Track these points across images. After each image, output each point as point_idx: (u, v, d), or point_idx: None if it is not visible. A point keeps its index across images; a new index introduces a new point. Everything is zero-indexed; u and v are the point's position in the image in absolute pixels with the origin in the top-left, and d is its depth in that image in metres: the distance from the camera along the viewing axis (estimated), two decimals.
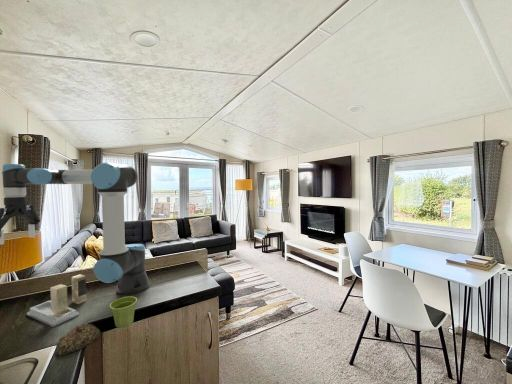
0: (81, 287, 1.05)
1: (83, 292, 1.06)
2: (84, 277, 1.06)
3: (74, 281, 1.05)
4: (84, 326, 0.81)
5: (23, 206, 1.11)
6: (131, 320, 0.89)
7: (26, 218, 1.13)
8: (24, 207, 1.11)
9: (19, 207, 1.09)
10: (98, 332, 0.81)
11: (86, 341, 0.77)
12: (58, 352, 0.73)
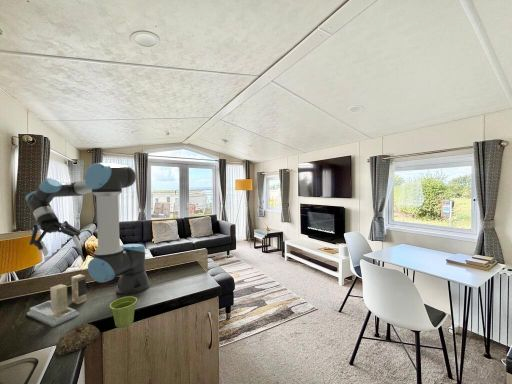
0: (81, 287, 1.05)
1: (83, 292, 1.06)
2: (84, 277, 1.06)
3: (74, 281, 1.05)
4: (84, 326, 0.81)
5: (56, 222, 1.16)
6: (131, 320, 0.89)
7: (65, 231, 1.16)
8: (58, 223, 1.16)
9: (52, 223, 1.14)
10: (98, 332, 0.81)
11: (86, 341, 0.77)
12: (57, 352, 0.73)
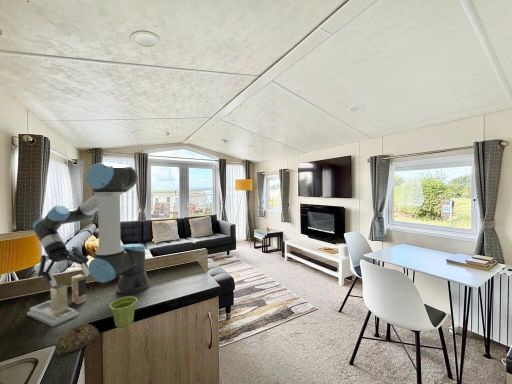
0: (81, 287, 1.05)
1: (83, 292, 1.06)
2: (84, 277, 1.06)
3: (74, 281, 1.05)
4: (83, 326, 0.81)
5: (64, 250, 1.14)
6: (131, 320, 0.89)
7: (73, 259, 1.14)
8: (66, 251, 1.14)
9: (60, 252, 1.12)
10: (97, 332, 0.81)
11: (85, 342, 0.77)
12: (57, 352, 0.73)
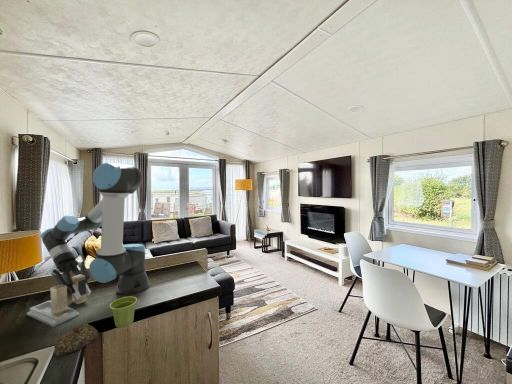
0: (81, 287, 1.05)
1: (83, 292, 1.06)
2: (84, 277, 1.06)
3: (74, 281, 1.05)
4: (82, 327, 0.81)
5: (74, 260, 1.12)
6: (131, 320, 0.89)
7: (77, 274, 1.09)
8: (75, 261, 1.12)
9: (69, 260, 1.11)
10: (96, 333, 0.81)
11: (84, 342, 0.77)
12: (56, 353, 0.73)
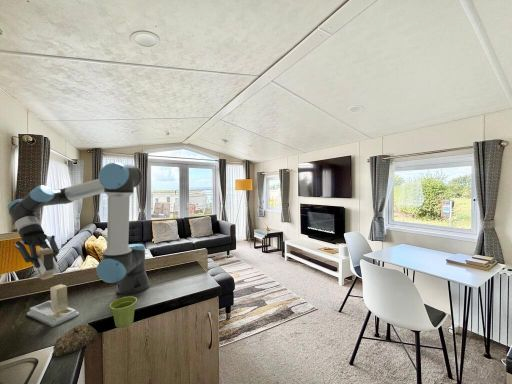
0: (47, 261, 0.96)
1: (49, 267, 0.97)
2: (51, 251, 0.97)
3: (39, 254, 0.96)
4: (81, 327, 0.81)
5: (43, 234, 1.03)
6: (131, 320, 0.89)
7: (44, 248, 1.00)
8: (44, 235, 1.03)
9: (37, 233, 1.02)
10: (95, 333, 0.81)
11: (83, 342, 0.77)
12: (55, 353, 0.73)
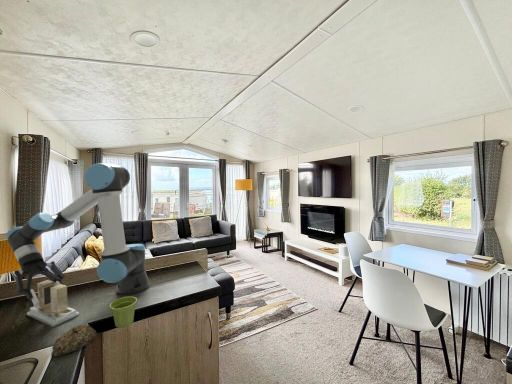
0: (48, 294, 0.96)
1: (50, 300, 0.97)
2: (51, 283, 0.97)
3: (40, 287, 0.96)
4: (80, 327, 0.81)
5: (42, 262, 1.03)
6: (131, 320, 0.89)
7: (48, 275, 1.02)
8: (43, 263, 1.03)
9: (36, 263, 1.01)
10: (94, 333, 0.81)
11: (82, 342, 0.76)
12: (54, 353, 0.73)
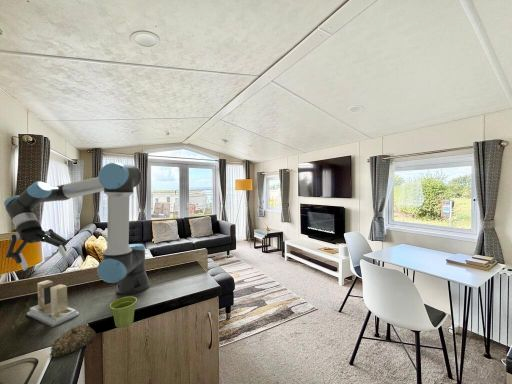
0: (48, 294, 0.96)
1: (50, 300, 0.97)
2: (51, 283, 0.97)
3: (40, 287, 0.96)
4: (79, 327, 0.81)
5: (39, 230, 1.02)
6: (131, 320, 0.89)
7: (49, 241, 1.03)
8: (41, 231, 1.02)
9: (35, 232, 1.00)
10: (93, 334, 0.81)
11: (81, 343, 0.76)
12: (53, 354, 0.72)
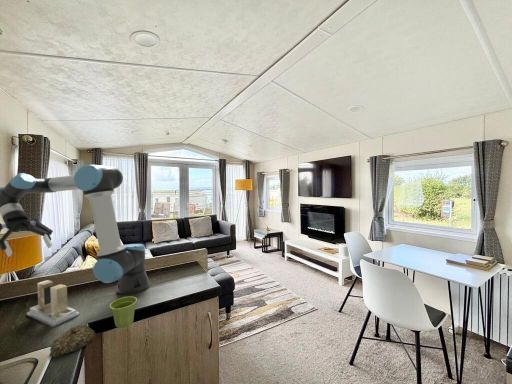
0: (48, 294, 0.96)
1: (50, 300, 0.97)
2: (51, 283, 0.97)
3: (40, 287, 0.96)
4: (79, 328, 0.81)
5: (25, 220, 1.07)
6: (131, 320, 0.89)
7: (35, 230, 1.08)
8: (27, 221, 1.07)
9: (20, 221, 1.05)
10: (93, 334, 0.80)
11: (81, 343, 0.76)
12: (52, 354, 0.72)
